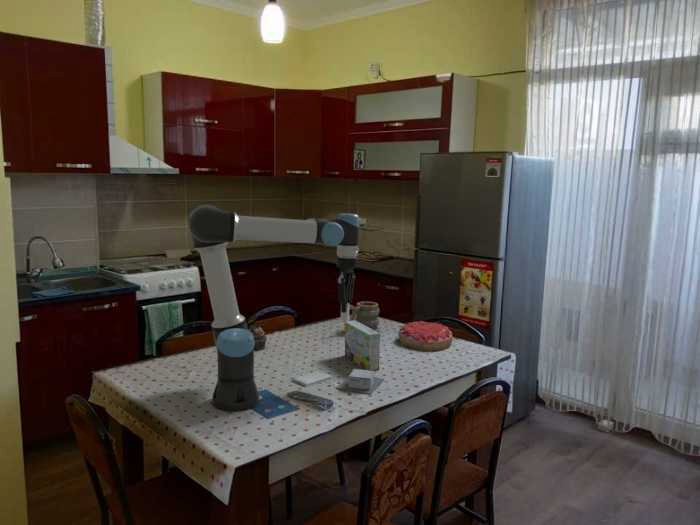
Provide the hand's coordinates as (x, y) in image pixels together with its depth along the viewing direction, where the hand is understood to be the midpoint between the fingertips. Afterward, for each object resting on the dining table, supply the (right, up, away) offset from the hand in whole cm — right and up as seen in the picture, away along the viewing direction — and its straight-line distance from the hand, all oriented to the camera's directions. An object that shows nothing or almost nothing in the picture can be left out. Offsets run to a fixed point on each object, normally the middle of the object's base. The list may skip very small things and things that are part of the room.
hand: (344, 320), depth 204 cm
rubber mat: (+6, -23, -1) cm, 24 cm away
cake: (+37, -16, +54) cm, 68 cm away
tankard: (+7, -13, +67) cm, 69 cm away
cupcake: (-39, -16, +38) cm, 57 cm away
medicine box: (+7, -20, +1) cm, 22 cm away
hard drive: (-12, -23, +2) cm, 26 cm away
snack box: (+6, -20, +23) cm, 31 cm away
